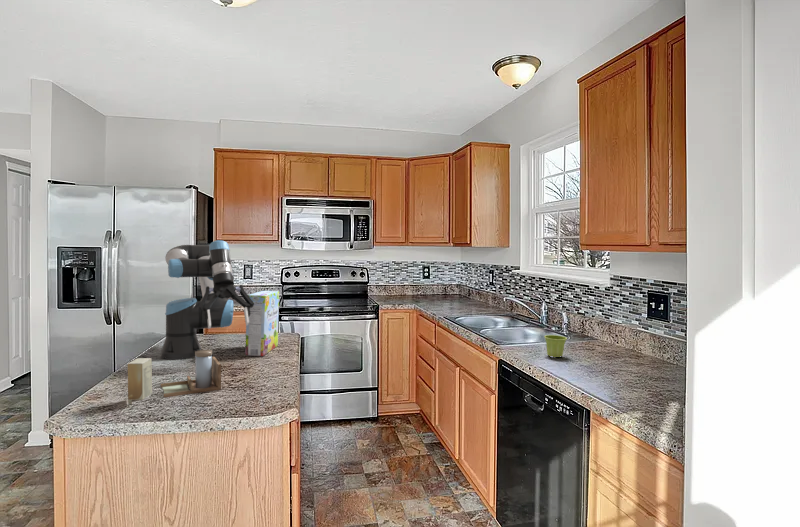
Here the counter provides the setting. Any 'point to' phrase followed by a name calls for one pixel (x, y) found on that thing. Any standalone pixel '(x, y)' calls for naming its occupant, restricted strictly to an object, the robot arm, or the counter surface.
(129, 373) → the skincare box
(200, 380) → the spice jar
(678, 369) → the counter surface
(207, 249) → the robot arm
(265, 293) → the snack box
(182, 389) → the rack
